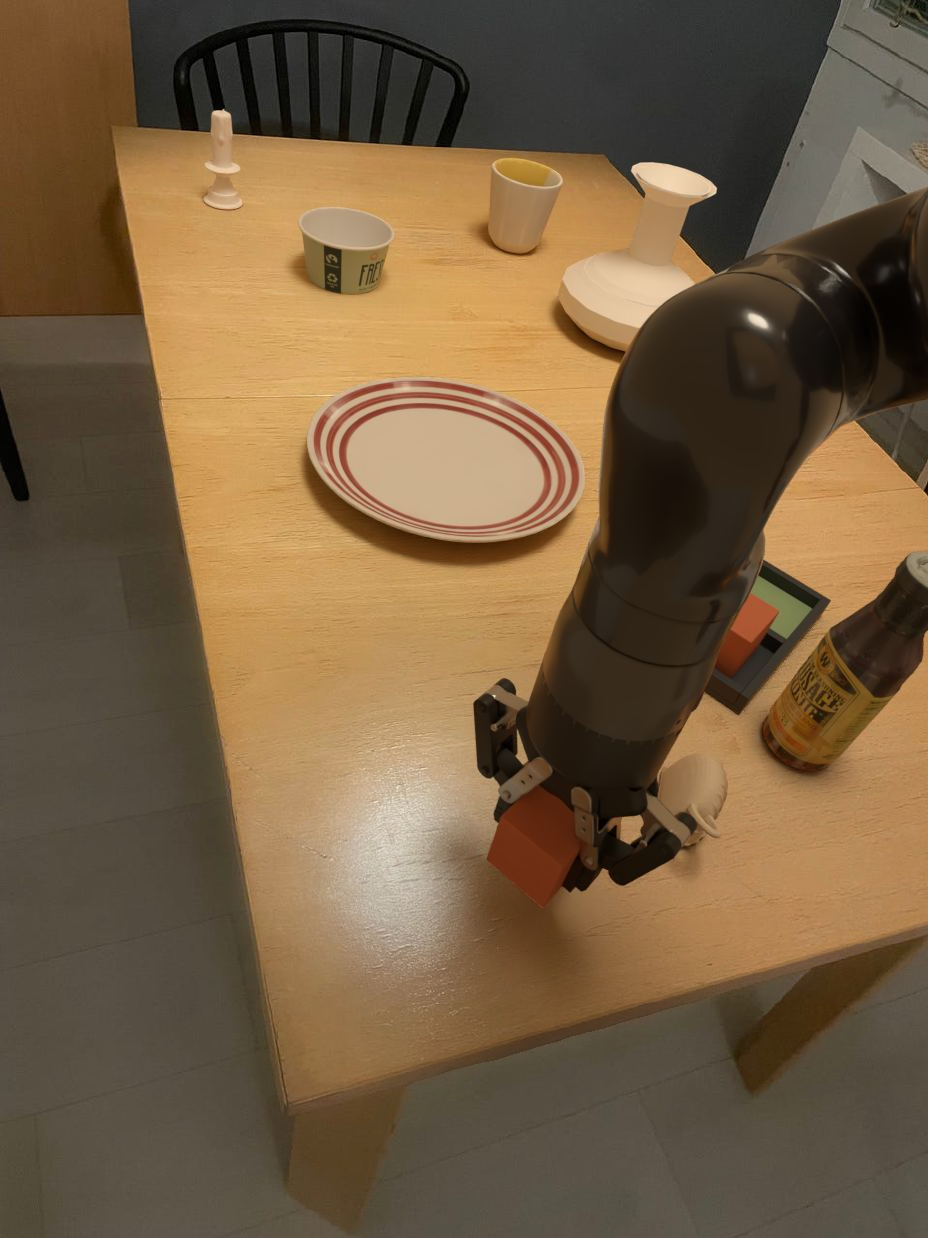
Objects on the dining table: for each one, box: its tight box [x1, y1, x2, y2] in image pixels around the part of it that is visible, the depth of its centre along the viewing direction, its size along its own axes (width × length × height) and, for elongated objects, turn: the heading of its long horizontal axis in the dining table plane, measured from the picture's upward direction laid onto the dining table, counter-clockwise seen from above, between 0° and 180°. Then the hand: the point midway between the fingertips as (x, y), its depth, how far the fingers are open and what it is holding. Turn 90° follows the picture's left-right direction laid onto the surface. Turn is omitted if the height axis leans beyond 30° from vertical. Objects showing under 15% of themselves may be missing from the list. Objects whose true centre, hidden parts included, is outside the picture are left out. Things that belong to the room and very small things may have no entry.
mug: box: [487, 157, 564, 255], centre depth 127 cm, size 14×10×10 cm
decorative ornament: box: [657, 752, 729, 847], centre depth 62 cm, size 4×8×5 cm, turn 161°
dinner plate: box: [306, 376, 586, 544], centre depth 86 cm, size 28×27×3 cm
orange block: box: [485, 785, 580, 909], centre depth 53 cm, size 4×6×5 cm
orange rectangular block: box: [714, 593, 779, 679], centre depth 74 cm, size 4×6×5 cm
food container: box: [297, 206, 396, 295], centre depth 111 cm, size 12×12×6 cm
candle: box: [203, 108, 244, 211], centre depth 119 cm, size 5×5×12 cm
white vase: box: [557, 161, 718, 352], centre depth 110 cm, size 20×20×19 cm
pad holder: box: [704, 558, 832, 715], centre depth 78 cm, size 9×17×2 cm, turn 140°
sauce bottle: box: [762, 550, 928, 772], centre depth 63 cm, size 7×6×20 cm
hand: (542, 852), depth 54 cm, fingers closed on orange block, 4 cm apart
